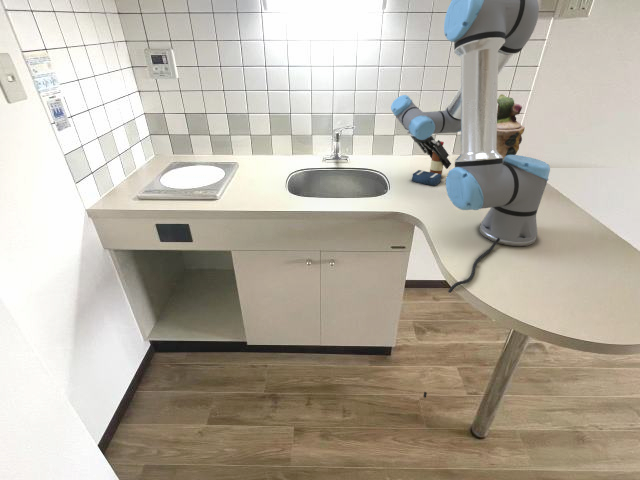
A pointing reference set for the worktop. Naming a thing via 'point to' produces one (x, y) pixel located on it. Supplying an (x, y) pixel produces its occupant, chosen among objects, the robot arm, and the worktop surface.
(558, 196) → the worktop surface
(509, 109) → the cookie jar
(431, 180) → the towel
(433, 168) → the bottle
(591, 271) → the worktop surface
